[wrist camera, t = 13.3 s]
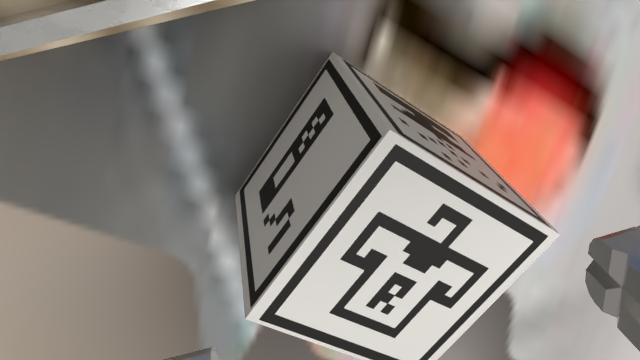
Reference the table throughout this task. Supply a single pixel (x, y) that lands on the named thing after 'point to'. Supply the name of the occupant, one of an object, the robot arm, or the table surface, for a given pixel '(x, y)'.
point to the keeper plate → (6, 3)
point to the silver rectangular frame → (77, 20)
